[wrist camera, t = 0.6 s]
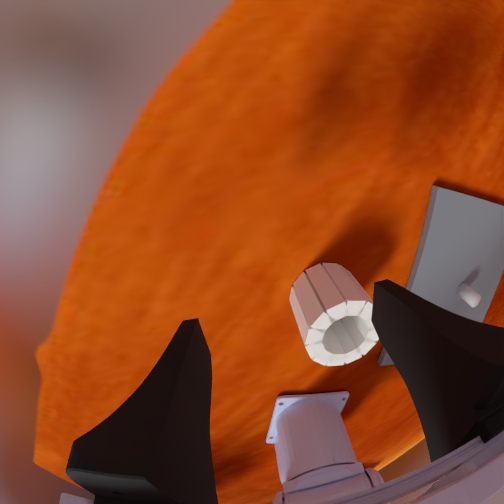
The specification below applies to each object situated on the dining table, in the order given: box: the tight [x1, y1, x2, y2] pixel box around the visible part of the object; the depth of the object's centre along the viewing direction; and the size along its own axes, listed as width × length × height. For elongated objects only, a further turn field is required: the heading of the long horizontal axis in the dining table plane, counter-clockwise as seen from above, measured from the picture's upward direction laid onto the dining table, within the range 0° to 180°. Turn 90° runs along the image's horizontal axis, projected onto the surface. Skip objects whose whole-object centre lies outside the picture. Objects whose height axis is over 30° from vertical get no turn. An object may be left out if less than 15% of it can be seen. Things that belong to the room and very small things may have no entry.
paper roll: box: [289, 263, 379, 366], centre depth 21 cm, size 5×5×6 cm
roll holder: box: [377, 185, 504, 366], centre depth 23 cm, size 18×14×3 cm
